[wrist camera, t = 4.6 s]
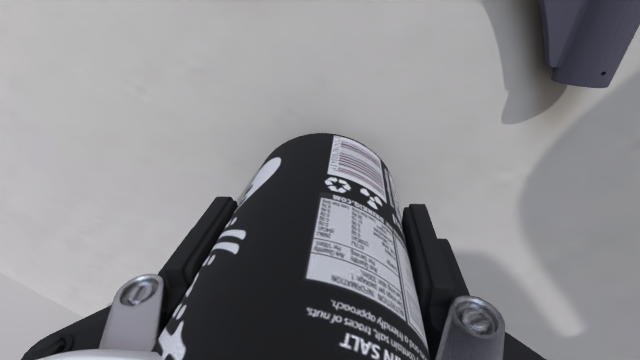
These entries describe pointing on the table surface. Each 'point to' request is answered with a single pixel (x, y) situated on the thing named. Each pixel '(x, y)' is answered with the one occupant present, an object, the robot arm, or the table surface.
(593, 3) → the bracket
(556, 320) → the table surface
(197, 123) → the table surface
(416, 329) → the beverage can
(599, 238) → the table surface
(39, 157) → the table surface
